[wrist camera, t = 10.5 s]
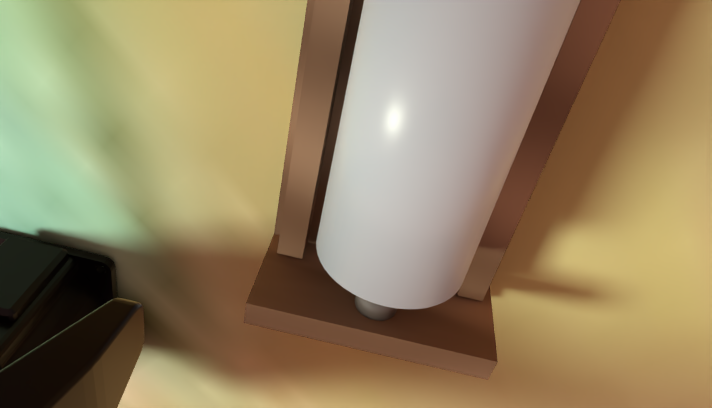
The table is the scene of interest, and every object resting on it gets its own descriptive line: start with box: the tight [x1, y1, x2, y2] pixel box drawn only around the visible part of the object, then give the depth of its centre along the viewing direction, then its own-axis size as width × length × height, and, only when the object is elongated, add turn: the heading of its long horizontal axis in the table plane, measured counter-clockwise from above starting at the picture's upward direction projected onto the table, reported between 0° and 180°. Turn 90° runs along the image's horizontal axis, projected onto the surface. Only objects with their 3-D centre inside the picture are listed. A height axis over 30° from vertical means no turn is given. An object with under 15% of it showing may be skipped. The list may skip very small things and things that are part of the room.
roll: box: [316, 0, 580, 309], centre depth 16 cm, size 10×5×5 cm, turn 169°
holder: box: [244, 0, 620, 380], centre depth 17 cm, size 18×9×5 cm, turn 169°
